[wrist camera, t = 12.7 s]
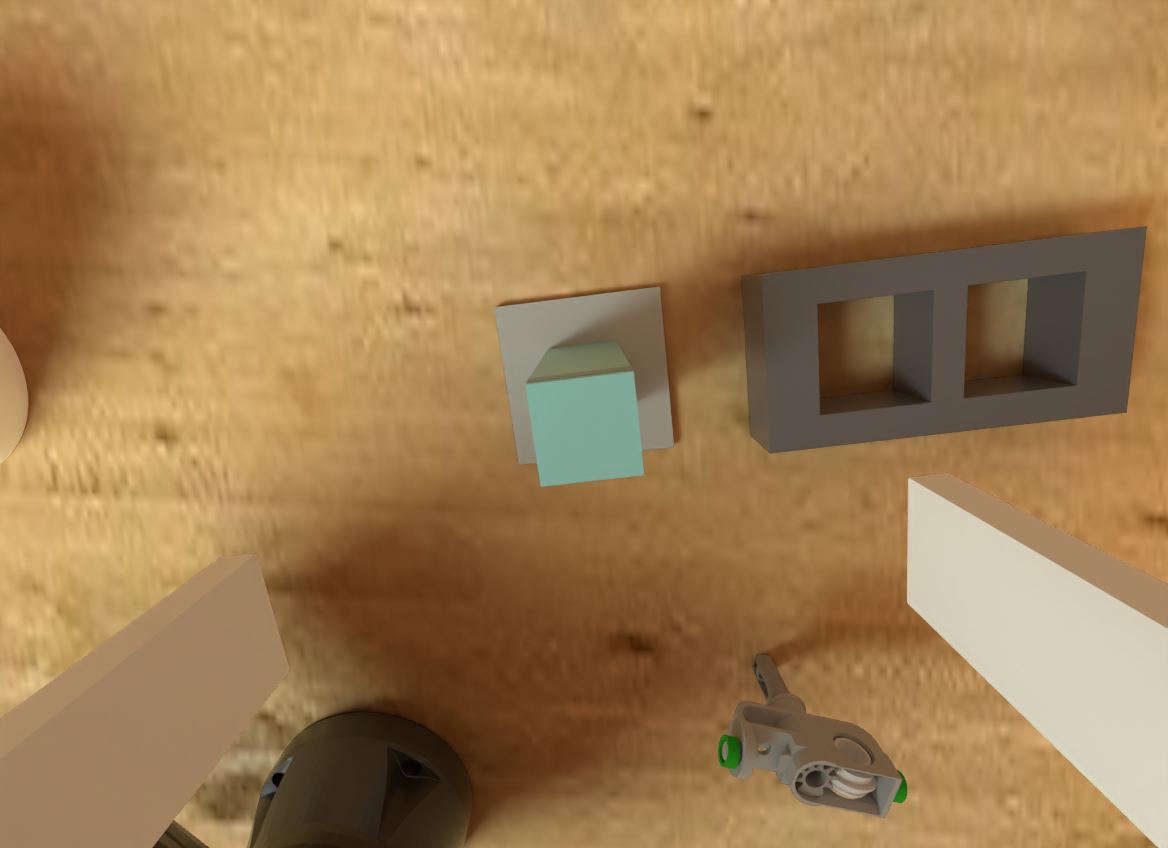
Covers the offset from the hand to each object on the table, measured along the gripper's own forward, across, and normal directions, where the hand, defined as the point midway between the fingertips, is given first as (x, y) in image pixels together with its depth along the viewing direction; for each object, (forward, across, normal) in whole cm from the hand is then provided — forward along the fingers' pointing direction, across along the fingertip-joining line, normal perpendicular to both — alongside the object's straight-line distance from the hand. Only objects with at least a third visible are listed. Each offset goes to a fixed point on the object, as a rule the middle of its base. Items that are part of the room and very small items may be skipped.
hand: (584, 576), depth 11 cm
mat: (+25, 0, 0) cm, 25 cm away
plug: (+24, 0, 0) cm, 24 cm away
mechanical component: (+25, +10, -22) cm, 35 cm away
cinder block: (+25, +20, 0) cm, 32 cm away
